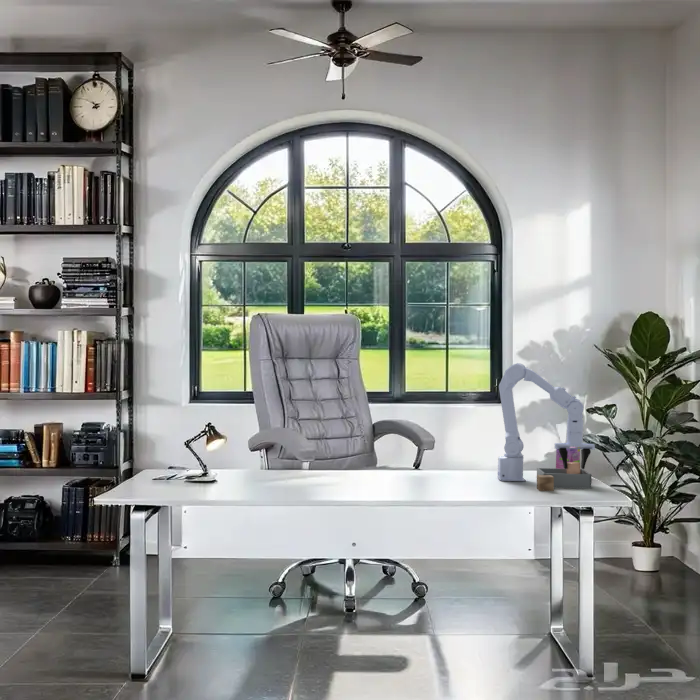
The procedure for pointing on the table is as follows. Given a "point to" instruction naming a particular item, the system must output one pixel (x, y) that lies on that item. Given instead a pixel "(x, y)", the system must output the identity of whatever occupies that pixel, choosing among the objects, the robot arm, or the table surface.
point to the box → (568, 457)
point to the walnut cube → (545, 482)
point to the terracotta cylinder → (573, 468)
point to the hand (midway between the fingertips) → (574, 468)
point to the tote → (567, 478)
